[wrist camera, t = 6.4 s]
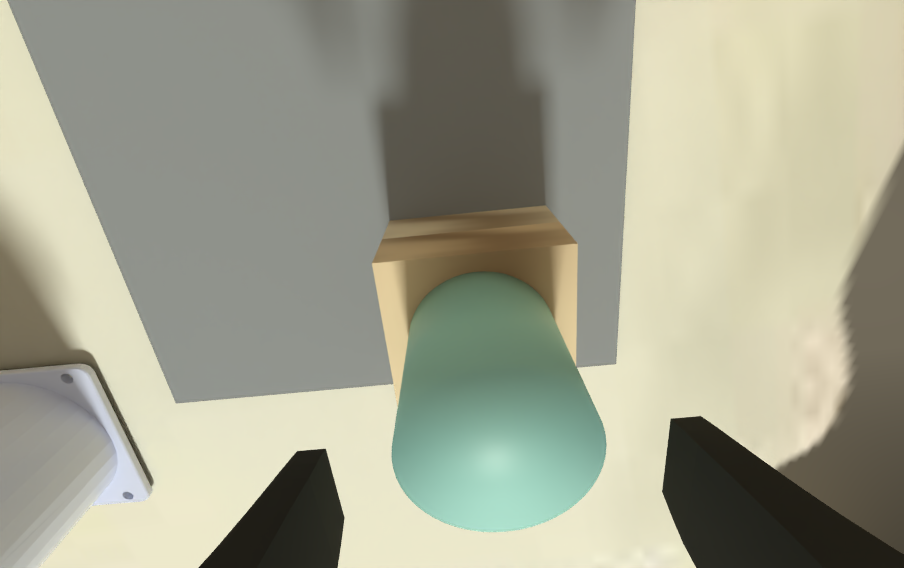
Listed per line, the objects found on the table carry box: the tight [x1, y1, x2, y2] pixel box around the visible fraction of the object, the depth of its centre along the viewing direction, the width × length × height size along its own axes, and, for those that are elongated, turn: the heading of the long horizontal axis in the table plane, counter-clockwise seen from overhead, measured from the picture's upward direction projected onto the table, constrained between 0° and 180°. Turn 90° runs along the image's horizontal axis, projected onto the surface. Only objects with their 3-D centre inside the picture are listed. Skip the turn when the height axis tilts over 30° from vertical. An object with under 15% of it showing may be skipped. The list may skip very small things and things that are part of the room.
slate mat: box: [7, 0, 636, 403], centre depth 18 cm, size 20×16×1 cm
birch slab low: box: [382, 205, 559, 239], centre depth 18 cm, size 6×6×2 cm
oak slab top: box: [372, 222, 578, 406], centre depth 15 cm, size 6×6×2 cm
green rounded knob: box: [392, 271, 606, 532], centre depth 12 cm, size 5×5×5 cm
